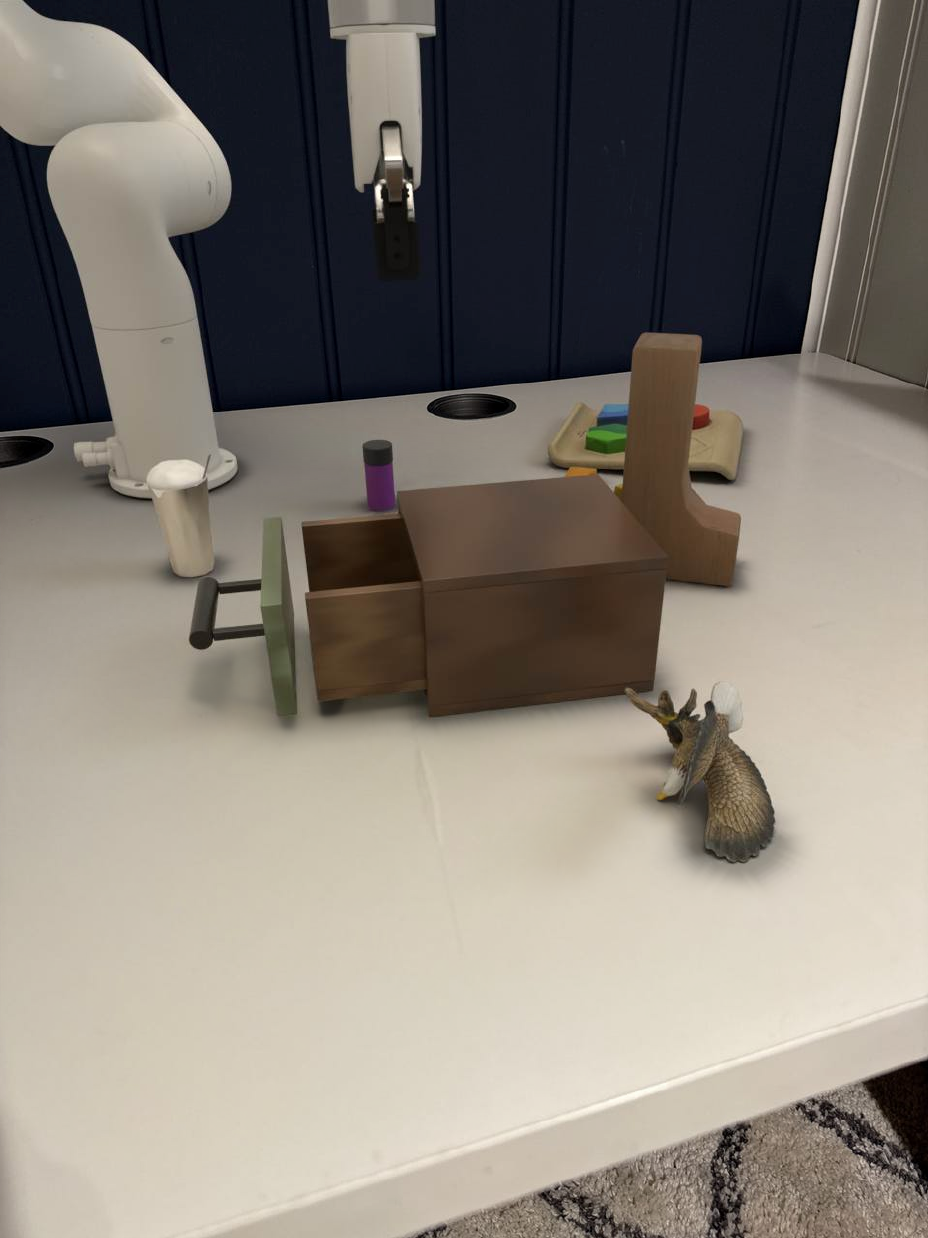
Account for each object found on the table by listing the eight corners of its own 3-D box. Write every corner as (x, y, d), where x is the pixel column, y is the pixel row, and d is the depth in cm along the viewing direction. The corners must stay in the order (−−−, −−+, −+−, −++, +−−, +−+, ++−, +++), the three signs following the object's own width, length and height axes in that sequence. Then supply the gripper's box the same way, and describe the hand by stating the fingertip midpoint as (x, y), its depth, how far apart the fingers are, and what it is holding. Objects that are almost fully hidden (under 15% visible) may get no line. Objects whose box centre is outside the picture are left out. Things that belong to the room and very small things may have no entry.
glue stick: (368, 512, 83) (363, 450, 80) (365, 501, 85) (361, 440, 82) (397, 509, 83) (393, 447, 80) (394, 498, 86) (390, 438, 83)
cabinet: (429, 717, 56) (423, 580, 51) (403, 610, 67) (396, 490, 62) (653, 690, 58) (668, 556, 53) (591, 591, 69) (598, 473, 64)
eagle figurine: (586, 746, 51) (647, 833, 43) (653, 640, 50) (729, 708, 41) (689, 793, 53) (766, 884, 45) (755, 694, 52) (847, 768, 44)
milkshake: (217, 584, 71) (196, 465, 66) (155, 579, 72) (130, 461, 67) (240, 559, 75) (222, 444, 70) (181, 554, 76) (159, 441, 71)
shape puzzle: (578, 416, 106) (579, 387, 105) (743, 429, 101) (747, 399, 100) (525, 496, 86) (525, 462, 84) (729, 518, 80) (734, 482, 79)
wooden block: (734, 562, 73) (768, 336, 64) (731, 588, 69) (767, 352, 60) (623, 550, 75) (640, 330, 66) (615, 574, 72) (632, 345, 62)
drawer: (197, 727, 54) (174, 614, 50) (211, 623, 64) (192, 523, 60) (495, 692, 56) (495, 582, 52) (461, 598, 67) (459, 500, 63)
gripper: (332, 22, 71) (351, 254, 79) (324, 2, 56) (348, 290, 64) (427, 20, 71) (435, 251, 80) (444, 0, 56) (452, 286, 65)
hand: (396, 268), depth 72 cm, fingers open, 9 cm apart
